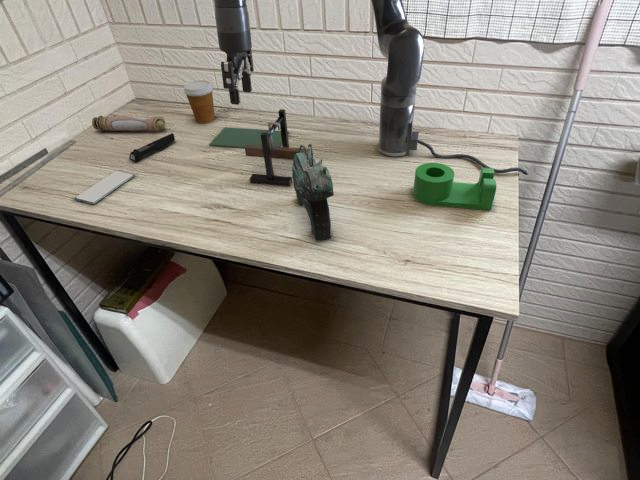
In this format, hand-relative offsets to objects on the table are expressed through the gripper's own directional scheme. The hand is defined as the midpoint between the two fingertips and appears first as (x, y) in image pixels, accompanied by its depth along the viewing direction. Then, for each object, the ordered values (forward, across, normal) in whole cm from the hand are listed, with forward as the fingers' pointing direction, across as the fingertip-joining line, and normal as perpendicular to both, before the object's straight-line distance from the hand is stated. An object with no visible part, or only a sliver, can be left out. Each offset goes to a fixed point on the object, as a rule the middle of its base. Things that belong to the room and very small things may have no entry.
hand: (241, 97), depth 107 cm
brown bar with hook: (+16, 0, -8) cm, 18 cm away
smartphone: (+22, -15, +36) cm, 45 cm away
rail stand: (+20, 0, -8) cm, 21 cm away
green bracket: (+18, -7, -54) cm, 57 cm away
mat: (+20, +17, +6) cm, 27 cm away
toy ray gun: (+20, -21, -23) cm, 37 cm away
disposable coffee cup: (+21, +30, +27) cm, 45 cm away
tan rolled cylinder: (+19, +18, +48) cm, 55 cm away
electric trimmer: (+22, +6, +33) cm, 40 cm away
